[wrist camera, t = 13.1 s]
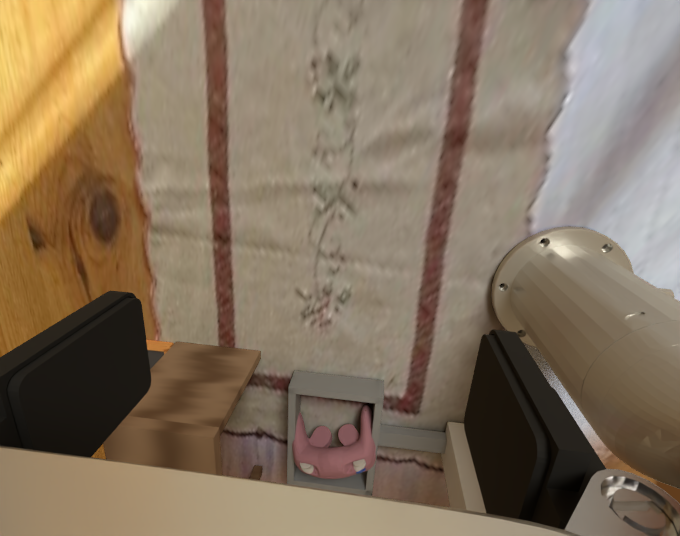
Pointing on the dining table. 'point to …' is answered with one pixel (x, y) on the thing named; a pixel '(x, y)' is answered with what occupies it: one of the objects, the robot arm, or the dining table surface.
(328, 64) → the dining table surface
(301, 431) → the video game controller
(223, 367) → the brown wooden stand
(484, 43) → the dining table surface
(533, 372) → the robot arm
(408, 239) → the dining table surface
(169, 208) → the dining table surface
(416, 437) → the grey drawer with handle
